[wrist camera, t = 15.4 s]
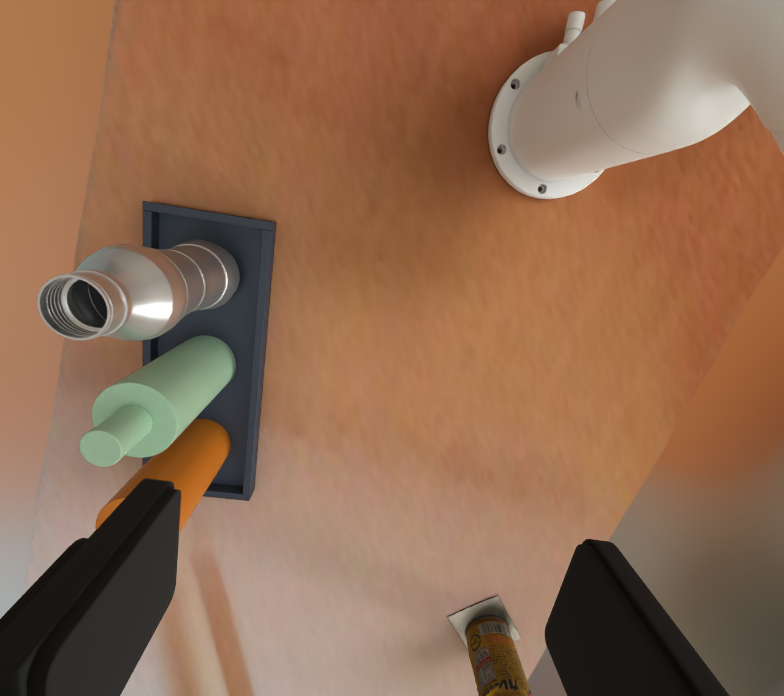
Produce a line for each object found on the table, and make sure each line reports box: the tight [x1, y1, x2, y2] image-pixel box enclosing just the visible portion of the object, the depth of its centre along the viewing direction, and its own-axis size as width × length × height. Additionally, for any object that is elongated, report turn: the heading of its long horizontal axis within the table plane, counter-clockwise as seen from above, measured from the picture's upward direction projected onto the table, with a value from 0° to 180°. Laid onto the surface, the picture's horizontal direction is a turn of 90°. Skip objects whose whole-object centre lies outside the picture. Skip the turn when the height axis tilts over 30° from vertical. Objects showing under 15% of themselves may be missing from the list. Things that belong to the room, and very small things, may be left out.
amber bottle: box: [96, 419, 231, 533], centre depth 37 cm, size 6×6×18 cm
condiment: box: [449, 596, 532, 696], centre depth 50 cm, size 7×8×12 cm
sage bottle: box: [79, 335, 236, 467], centre depth 35 cm, size 6×6×18 cm
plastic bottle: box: [37, 240, 240, 341], centre depth 31 cm, size 6×7×20 cm
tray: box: [143, 201, 276, 501], centre depth 43 cm, size 31×12×2 cm, turn 171°
